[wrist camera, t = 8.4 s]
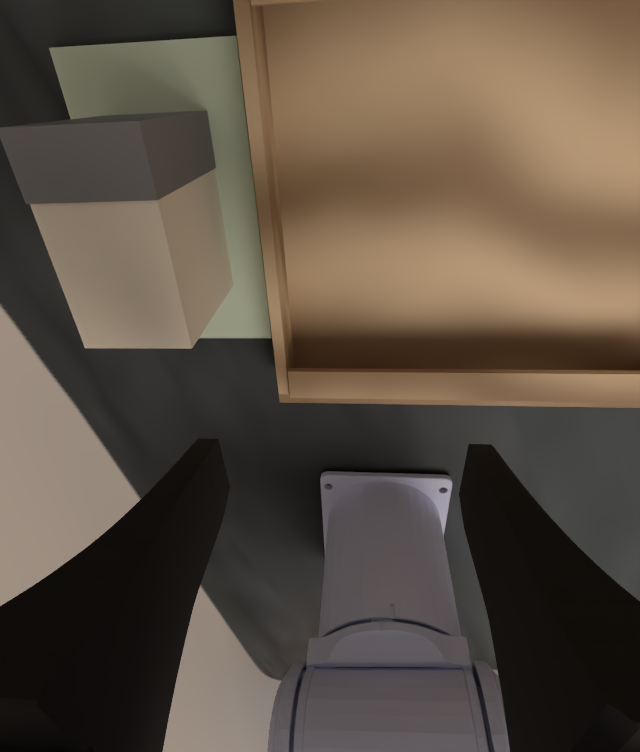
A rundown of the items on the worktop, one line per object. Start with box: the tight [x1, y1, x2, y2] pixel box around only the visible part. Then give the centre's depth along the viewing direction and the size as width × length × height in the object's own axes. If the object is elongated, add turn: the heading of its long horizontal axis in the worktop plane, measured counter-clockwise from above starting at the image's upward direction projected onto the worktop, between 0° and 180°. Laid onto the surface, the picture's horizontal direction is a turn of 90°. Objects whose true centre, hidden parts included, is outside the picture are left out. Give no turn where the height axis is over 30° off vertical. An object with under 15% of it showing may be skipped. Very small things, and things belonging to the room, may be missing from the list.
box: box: [0, 110, 234, 349], centre depth 16 cm, size 7×4×6 cm, turn 3°
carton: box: [233, 0, 640, 408], centre depth 17 cm, size 17×18×3 cm
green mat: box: [49, 36, 272, 338], centre depth 19 cm, size 12×7×1 cm, turn 3°
